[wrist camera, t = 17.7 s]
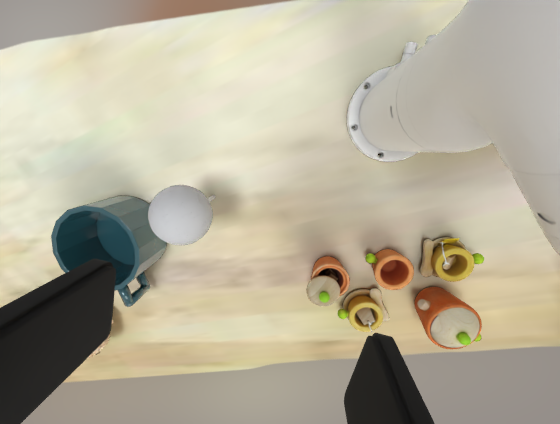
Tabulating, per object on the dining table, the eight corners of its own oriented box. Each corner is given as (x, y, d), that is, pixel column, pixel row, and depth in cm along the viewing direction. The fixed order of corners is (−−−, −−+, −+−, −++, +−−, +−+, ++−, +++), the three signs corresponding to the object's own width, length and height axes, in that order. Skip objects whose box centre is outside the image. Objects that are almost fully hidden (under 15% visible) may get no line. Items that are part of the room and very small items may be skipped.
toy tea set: (470, 230, 40) (522, 255, 30) (467, 317, 43) (513, 364, 34) (302, 247, 43) (302, 275, 33) (312, 328, 46) (315, 373, 37)
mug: (82, 206, 44) (35, 219, 36) (150, 186, 42) (116, 195, 34) (122, 292, 47) (87, 320, 40) (186, 277, 46) (162, 303, 38)
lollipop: (183, 196, 42) (121, 222, 28) (211, 165, 40) (160, 175, 26) (215, 226, 43) (171, 267, 28) (244, 197, 41) (212, 224, 27)
